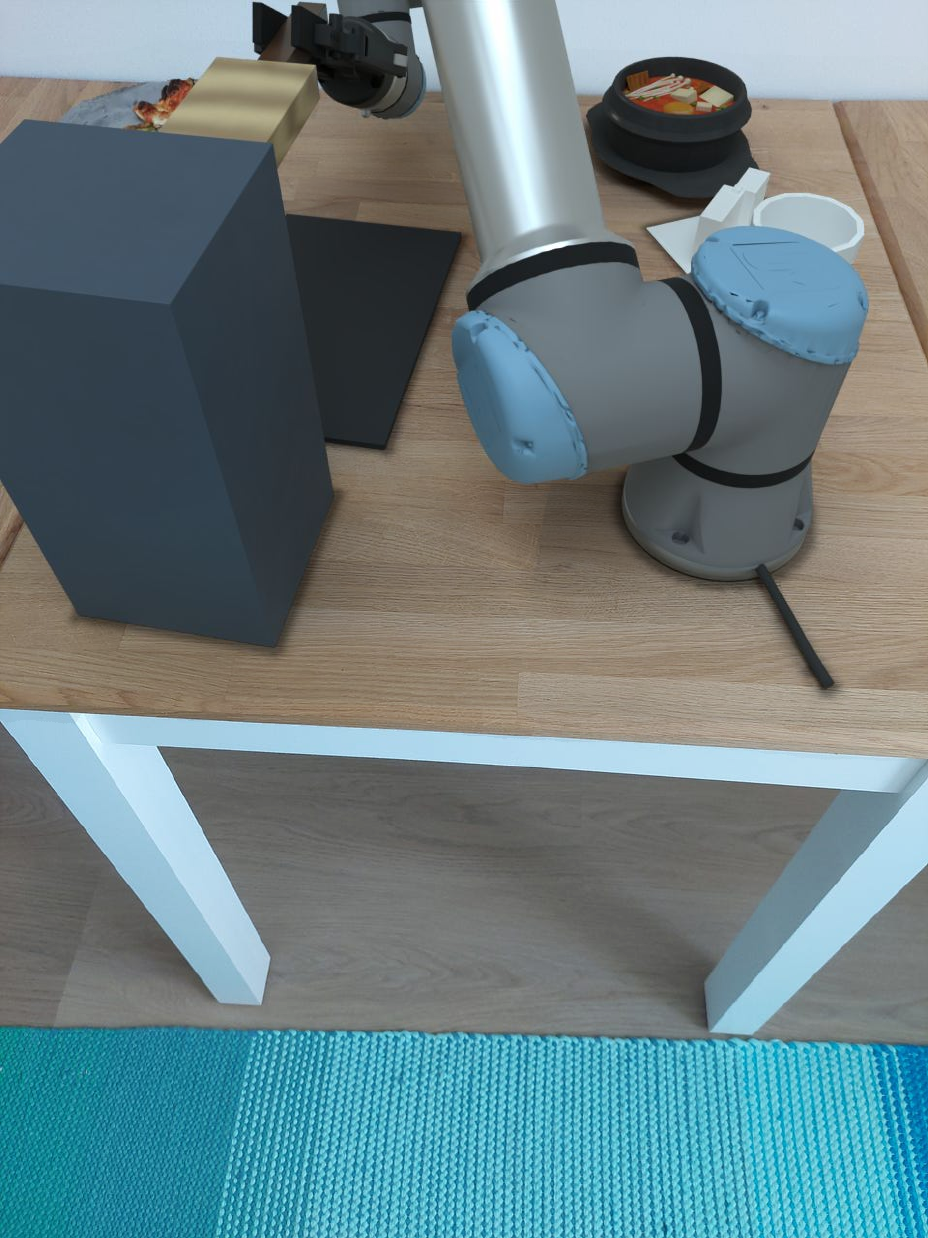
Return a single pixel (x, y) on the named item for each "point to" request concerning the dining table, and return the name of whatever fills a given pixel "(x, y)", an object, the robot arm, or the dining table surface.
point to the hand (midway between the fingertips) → (276, 24)
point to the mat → (366, 316)
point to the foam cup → (814, 220)
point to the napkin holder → (713, 217)
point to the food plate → (132, 106)
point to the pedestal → (158, 377)
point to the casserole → (675, 125)
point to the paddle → (254, 95)
